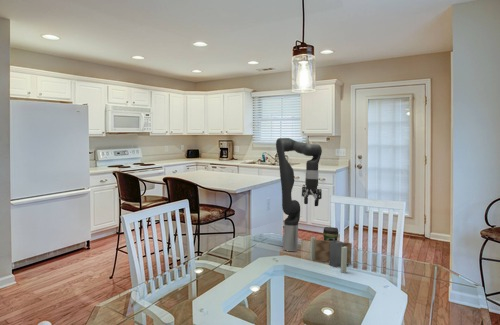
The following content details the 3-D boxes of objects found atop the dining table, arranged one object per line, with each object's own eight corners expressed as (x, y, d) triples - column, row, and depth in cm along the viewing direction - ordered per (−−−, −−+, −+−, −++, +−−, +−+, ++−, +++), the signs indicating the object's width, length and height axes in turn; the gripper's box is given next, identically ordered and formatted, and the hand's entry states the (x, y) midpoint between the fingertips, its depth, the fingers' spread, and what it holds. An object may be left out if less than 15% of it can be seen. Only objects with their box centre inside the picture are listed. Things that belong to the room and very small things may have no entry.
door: (314, 259, 200) (315, 240, 200) (314, 259, 201) (315, 239, 201) (350, 263, 194) (351, 243, 194) (350, 263, 195) (351, 243, 195)
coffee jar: (338, 255, 213) (339, 226, 212) (337, 259, 205) (338, 229, 204) (322, 253, 215) (323, 225, 215) (321, 257, 208) (322, 228, 207)
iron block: (329, 264, 194) (330, 241, 194) (335, 263, 197) (336, 240, 196) (335, 267, 190) (336, 243, 189) (341, 266, 193) (342, 242, 192)
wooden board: (309, 260, 202) (310, 237, 201) (313, 259, 203) (314, 236, 203) (342, 273, 181) (343, 247, 180) (346, 272, 183) (347, 247, 182)
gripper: (299, 177, 201) (298, 203, 201) (316, 179, 189) (315, 207, 190) (308, 176, 205) (307, 203, 206) (325, 178, 193) (324, 206, 194)
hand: (311, 205), depth 198 cm, fingers open, 8 cm apart
